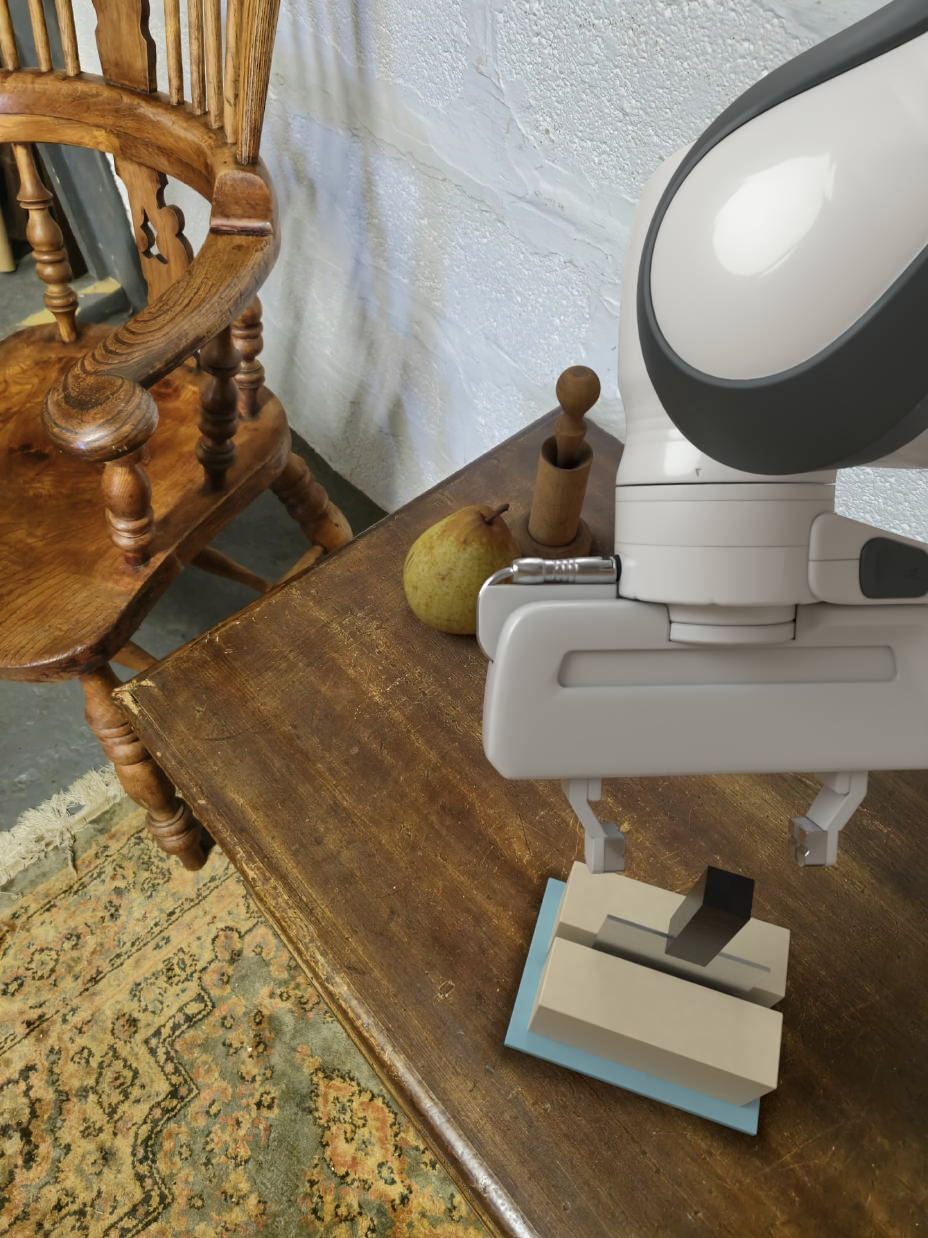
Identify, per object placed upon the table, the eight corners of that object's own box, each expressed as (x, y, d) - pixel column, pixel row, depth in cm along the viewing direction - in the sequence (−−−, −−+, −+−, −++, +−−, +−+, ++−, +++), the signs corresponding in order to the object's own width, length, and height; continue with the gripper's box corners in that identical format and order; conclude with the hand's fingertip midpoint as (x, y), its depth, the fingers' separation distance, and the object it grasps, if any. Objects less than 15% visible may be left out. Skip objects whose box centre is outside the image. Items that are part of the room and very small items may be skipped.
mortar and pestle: (539, 594, 68) (571, 414, 53) (493, 543, 71) (512, 360, 57) (603, 562, 70) (650, 381, 56) (556, 514, 73) (589, 331, 59)
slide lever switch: (771, 953, 51) (811, 918, 46) (753, 1136, 45) (796, 1119, 40) (548, 880, 53) (561, 838, 48) (503, 1045, 48) (513, 1017, 42)
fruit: (382, 602, 67) (375, 491, 57) (469, 549, 70) (477, 437, 61) (452, 673, 63) (457, 567, 53) (541, 613, 66) (560, 504, 57)
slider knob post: (735, 984, 46) (827, 902, 35) (731, 1018, 45) (825, 944, 34) (591, 936, 47) (639, 842, 37) (584, 968, 46) (631, 881, 36)
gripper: (482, 562, 32) (482, 906, 34) (996, 557, 33) (970, 889, 35) (470, 553, 38) (471, 844, 40) (904, 549, 40) (886, 831, 42)
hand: (708, 865), depth 38 cm, fingers open, 8 cm apart
